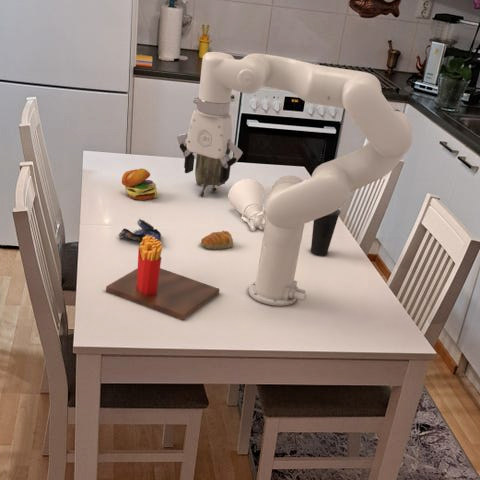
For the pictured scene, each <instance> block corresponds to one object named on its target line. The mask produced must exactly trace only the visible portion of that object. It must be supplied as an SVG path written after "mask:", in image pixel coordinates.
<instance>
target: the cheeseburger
mask: <svg viewBox="0 0 480 480" xmlns="http://www.w3.org/2000/svg"><path fill="white" fill-rule="evenodd" d="M150 176H151V173H150V172H149V170H147V169H146V168H143V167H141V168H138V169H130V170H127V171H125V172H124V173H123V174H122V177H121V184H122V185H123V186H125V189H126V193H127V196H128V197H129V198H131V199H134V200H139V201H143V200H150V199H153V198H154V199H155V198H157V196H158V191H157V187H156V186H157V185H156V183H155V182H154V181H153V180H152V179H149V178H150Z"/></svg>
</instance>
